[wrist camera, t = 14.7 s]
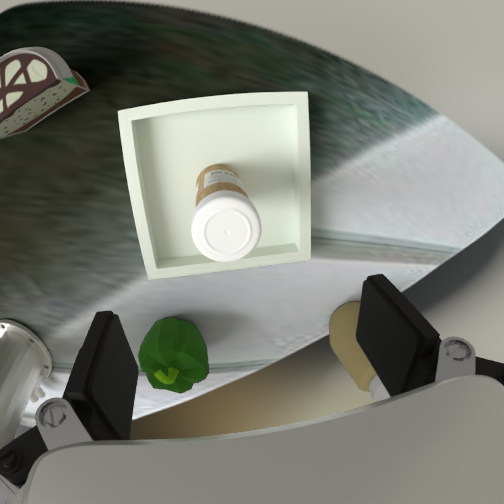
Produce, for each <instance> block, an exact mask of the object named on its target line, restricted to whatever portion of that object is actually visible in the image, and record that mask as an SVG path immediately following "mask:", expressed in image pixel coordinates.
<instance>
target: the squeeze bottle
mask: <svg viewBox="0 0 504 504" xmlns="http://www.w3.org/2000/svg"><path fill="white" fill-rule="evenodd" d="M359 310H360V303H358V302H350V303H346V304H344V305H342V306H340V307H339V308H338V309H337V310H335V311H334V313H333V314H332V316H331V318H330V322H329V334H330V344H331V347H332V349H333V351H334V352H335V354H336V355H337V357H338V358H339V360H340V361H341V363H342V364H343V365H344V367H345V368H346V370H347V371H348V373H349V374H350V376H351V377H352V379H353V380H354V381H355V383H356V384H357V386H358V387H359V389H361V390H363V391H368V392H370V393H371V395H372V397H373V399H374V400H375V401H377V402H378V401H381V400H384V399H387V398H390V395H389V394H388V392H387V390H386V388H385V387H384V385H383V383H382V382H381V380H380V378H379V377H378V375H377V373H376V372H375V370H374V368H373V367H372V365H371V363H370V362H369V360H368V359H367V357H366V355H365V354H364V352H363V350H362V349H361V347H360V345H359V344H358V342H357V340H356V329H357V322H358V316H359Z"/></svg>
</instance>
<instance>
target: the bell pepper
mask: <svg viewBox="0 0 504 504" xmlns="http://www.w3.org/2000/svg"><path fill="white" fill-rule="evenodd" d="M138 357H139V363H140V366H141V369H142V371H143V372H145V373H146V376H147V378H148V381H149V382H150V384H151V385H152V386H153V388H156V389H165V390H170V391H173V392H177V393H184V392H186V391H188V390H190V389H191V388H192V386H193V383H199V382H201V381H202V380H204V379H206V377H207V375H208V374H209V364H208V354H207V347H206V344H205V342H204V339H203V337H202V335H201V333H200V332H199V330H198V329H197V328H196V327H195V325H194V324H193V323H191V322H188V321H185V320H181V321H179V320H178V319H176V318H170V317H167V318H164V319H162V320H159V321H157V322H155V324H154V325H153V326H152V328H151V329H150V330H149V332H148V333H147V335H146V336H145V338H144V340H143V342H142V344H141V346H140V350H139V355H138Z"/></svg>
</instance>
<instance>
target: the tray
mask: <svg viewBox="0 0 504 504" xmlns="http://www.w3.org/2000/svg"><path fill="white" fill-rule="evenodd" d="M118 117H119V126H120V134H121V142H122V149H123V156H124V163H125V169H126V175H127V181H128V187H129V193H130V198H131V204H132V209H133V214H134V219H135V224H136V229H137V233H138V238H139V243H140V247H141V251H142V256H143V260H144V264H145V268H146V272H147V276H148V280H153V279H161V278H170V277H178V276H187V275H195V274H203V273H211V272H220V271H228V270H236V269H244V268H252V267H259V266H267V265H275V264H282V263H290V262H298V261H305V260H310V259H311V169H310V134H309V111H308V92H264V93H245V94H231V95H219V96H209V97H200V98H192V99H184V100H177V101H170V102H164V103H157V104H152V105H146V106H141V107H135V108H130V109H125V110H121V111H118ZM213 164H223V165H227V166H229V167H231V168H232V169H233V170H234V171H235V172H236V173H237V175H238V177H239V180H240V182H241V184H242V186H243V188H244V190H245V192H246V194H247V196H248V198H249V200H250V201H251V202H252V203H253V205H254V206H255V208H256V210H257V212H258V215H259V217H260V220H261V228H262V230H261V236H260V239H259V242H258V244H257V246H256V247H255V248H254V249H253V251H252V252H251V253H249V254H248V255H247V256H245V257H244V258H242V259H239V260H236V261H232V262H219V261H215V260H212V259H210V258H208V257H206V256H205V255H203V254H202V253H201V252H200V251H199V250H198V248H197V247H196V245H195V243H194V241H193V238H192V232H191V222H192V216H193V212H194V210H195V204H196V203H195V195H196V182H197V178H198V176H199V174H200V172H201V171H202V170H203V169H205V168H206V167H208V166H210V165H213Z"/></svg>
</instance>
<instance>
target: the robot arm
mask: <svg viewBox="0 0 504 504" xmlns="http://www.w3.org/2000/svg"><path fill="white" fill-rule="evenodd" d="M439 336H440V334H439V333H438V332H437V331H436V330H435V329H434V328H433V327H432V326H431V324H430V323H429V322H428V321H427V320H426V319H425V318H424V317H423V316H422V315H421V313H420V312H419V311H418V310H417V309H416V308H415V307H414V306H413V305H412V304H411V303H410V302H409V301H408V300H407V299H406V297H404V295H403V294H402V293H401V292H400V291H399V290H398V289H397V288H396V287H395V286H394V285H393V284H392V283H391V282H390V281H389V280H388V279H387V278H386V277H385V276H384V275H383V274H377V275H371V276H368V277H367V280H365V281H364V282H363V288H362V296H361V303H360V310H359V316H358V322H357V329H356V340H357V342H358V344H359V345H360V347H361V349H362V350H363V352H364V354H365V355H366V357H367V359H368V360H369V362H370V363H371V365H372V367H373V368H374V370H375V372H376V373H377V375H378V377H379V378H380V380H381V382H382V383H383V385H384V387H385V388H386V390H387V392H388V394H389V395H390V398H387V399H384V400H381V401H378V402H375V403H371V404H368V405H365V406H362V407H358V408H355V409H351V410H348V411H344V412H340V413H336V414H332V415H328V416H324V417H320V418H316V419H312V420H307V421H303V422H298V423H293V424H289V425H283V426H278V427H272V428H267V429H261V430H254V431H247V432H240V433H233V434H225V435H216V436H206V437H195V438H181V439H160V440H129V439H130V430H131V422H132V414H133V407H134V400H135V393H136V386H137V380H138V366H137V363H136V361H135V358H134V356H133V353H132V351H131V348H130V346H129V343H128V341H127V338H126V336H125V333H124V330H123V328H122V325H121V322H120V320H119V317H118V315H117V314H113V312H112V311H101V312H97V313H96V314H95V317H94V319H93V322H92V324H91V326H90V329H89V331H88V334H87V336H86V339H85V341H84V344H83V346H82V348H81V349H80V350H79V353H78V355H77V358H76V361H75V363H74V366H73V369H72V371H71V374H70V377H69V380H68V383H67V385H66V388H65V391H64V394H63V397H62V398H51V399H48V400H46V401H45V402H43V403H42V404H41V405H40V406H39V408H38V409H37V411H36V414H35V421H36V424H37V425H36V426H34V427H33V428H31V429H30V430H28V431H27V432H25V433H24V434H22V435H21V436H19V437H18V438H16V439H14V438H15V435H16V432H17V429H18V427H19V424H20V421H21V419H22V416H23V413H24V411H25V408H26V405H27V403H28V400H29V399H30V400H31V401H32V402H36V401H38V399H39V397H40V398H43V397H44V396H45V392H44V391H43V390H42V388H41V387H40V383H41V380H43V379H45V378H47V377H48V376H49V374H50V372H51V370H52V358H51V356H50V353H49V351H48V350H47V348H46V346H45V345H44V344H43V342H42V341H41V340H40V339H39V338H38V337H37V336H36V335H35V334H34V333H33V332H32V331H31V330H29V329H28V328H26V327H25V326H23V325H21V324H20V323H17V322H15V321H12V320H6V319H2V320H0V504H504V364H503V363H499V362H495V361H491V360H487V359H484V358H480V357H476V356H475V350H474V348H473V346H472V345H471V344H470V343H469V342H468V341H466V340H464V339H463V338H459V337H448V338H446V339H444V340H443V341H442V340H441V339H440V338H439Z"/></svg>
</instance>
